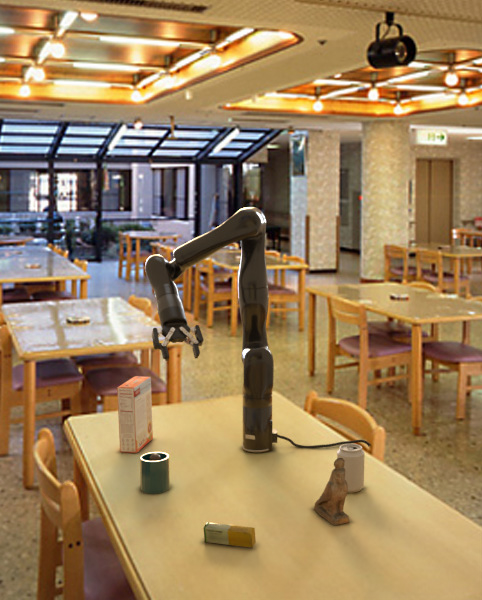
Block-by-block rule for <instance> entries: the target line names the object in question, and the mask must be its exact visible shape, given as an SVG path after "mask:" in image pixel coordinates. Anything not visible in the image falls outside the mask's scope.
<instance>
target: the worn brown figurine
mask: <svg viewBox="0 0 482 600" xmlns="http://www.w3.org/2000/svg"><path fill="white" fill-rule="evenodd" d="M344 462H345V460H344V459H343V458H338V459H337V458H336V459H335V460H334V462H333V467H334V468H333V470H332V471H331V473H330V477H329V480H328V481H327V483H326V484H325V487H324V490H323V491H322V493H321V495H320V496H319V498H318V499H317V500H315V503H314V507H313V510H314V511H315V512H316V513H317V514H319V516H320V517H322V518H323V519H325V520H326V522H328V523H330V525H333V526H339V525H343V524H348V523H350V517H349V515H348V514H347V513H345V512H344V507H345V502H346V498H347V496H348V484H347V482H346V480H345V472H346V471H345V468H344Z"/></svg>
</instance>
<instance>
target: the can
mask: <svg viewBox="0 0 482 600" xmlns="http://www.w3.org/2000/svg"><path fill="white" fill-rule="evenodd" d="M365 454H366V453H365V451H364V450H363V446H362V445H360V444H359V443H358V444H357V443H351V444H341V445H339V449H338V450H337V451H336V459H338V458H343V459H344V460H345V462H344V468H345V471H346V472H345V480H346V482H347V484H348V492H347V494H348V493H349V494H350V493H351V494H352V493H358V492H360V491H361V490H362V489H363V488H364V486H365Z"/></svg>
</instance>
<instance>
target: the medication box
mask: <svg viewBox="0 0 482 600" xmlns="http://www.w3.org/2000/svg"><path fill="white" fill-rule="evenodd" d="M203 538H204V539H203V540H204V543H210V544H220V545H228V546H237V547H244V548H251V549H252V548H254V546H255V545H256V542H257V541H256V528H255V527H252V526H244V525H234V524H225V523H217V522H206V523H205V525H204V526H203Z"/></svg>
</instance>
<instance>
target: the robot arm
mask: <svg viewBox="0 0 482 600" xmlns="http://www.w3.org/2000/svg"><path fill="white" fill-rule="evenodd" d="M266 231H267V219H266V216H265V214H264V213H263V211H262V210H260V209H259V208H257V207H255V206H247V207H243V208H240V209H239V210H237V211H236V212H235V213H234V214H233V215H232V216H230V217H229V218H228V219H227V220H226V221H224V222H222V223H221V224H220V225H219V226H217V227H215V228H213V229H211V230H209V231H208V232H206V233H204V234H202V235H199V236H197V237H195V238H193V239H192V240H189V241H187V242H186V243H184V244H182V245H180V246H178V247H177V248H176V249H174V250H173V253H172V257H173V260H172V261H170V260H168V259H167V258H165V256H162V255H160V254H153V255H150V256H149V257H148V258H147V259H146V262H145V266H144V271H145V274H146V277H147V279H148V281H149V284H150V286H151V288H152V290H153V292H154V296H155V297H154V298H155V301H156V306H157V307H156V308H157V309H156V310H157V315H158V317H159V322H160V326H161V328H159V329H158V328H157V327H153V328H152V331H151V338H152V345H153V349H154V350H160V351H161V356H162V359H163V360H165V362H168V361H169V359H170V353H169V349H168V346H169V344H170V343H172V344H175V343H185V344H186V345H189V346H191V349H192V353H193V357H194V359H199V357H200V355H201V350H200V347H202V346H203V343H204V337H203V333H202V330H201V327H200V325H199V324H195V326H191V327H190V326H189V325H188V320H187V317H186V312H185V308H184V304H183V301H182V299H181V296H180V291H179V288H178V286H177V284H176V281H177V280H178V279H179V278H180V277H181V276H182V275H183V274H184V273H185V272H186V271H187V270H188V269H190V268H192V267H194V266H196V265H197V264H200V263H202V262H203V261H204V260H207V259H208V258H209V257H211V256H213V255H214V254H216V253H218V252H219V251H220V250H222V249H224V248H225V247H227V246H230V245H232V244H235V243H238V242H240V247H241V257H240V264H239V269H238V276H237V293H238V296H237V297H238V304H239V305H238V306H239V313H240V319H241V324H242V347H241V362H242V366H243V382H242V450H243V451H245V452H248V453H256V454H257V453H266V452H270V451H273V444H276V443H277V444H278V438H279V439H282V440H285V441H287V442H288V443H290V444H291V445H292V446H294V447H295V448H302V449H319V448H331V447H335V446H341V445H343V444H357V443H358V444H359V443H364V444H366V446H372V445H371V443H370V442H369V441H367V440H365V439H354V440H345V441H339V442H334V443H326V444H315V445H314V444H313V445H304V444H303V445H302V444H299V443H296V442H295V441H293V440H292V439H291V438H289V437H287V436H284V435H280V434H278V429H277V428H273V390H274V377H275V376H274V375H275V368H274V367H275V365H274V364H275V362H274V356H273V354H272V351H271V350H270V347H269V342H268V335H267V319H268V313H269V302H270V301H269V300H270V294H269V281H268V279H269V278H268V268H267V259H266ZM191 333H192V334H191ZM160 335H162V336H163V337H164V339H163V341H162V342H160V339H159V338H160ZM194 336H195V337H194Z"/></svg>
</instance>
